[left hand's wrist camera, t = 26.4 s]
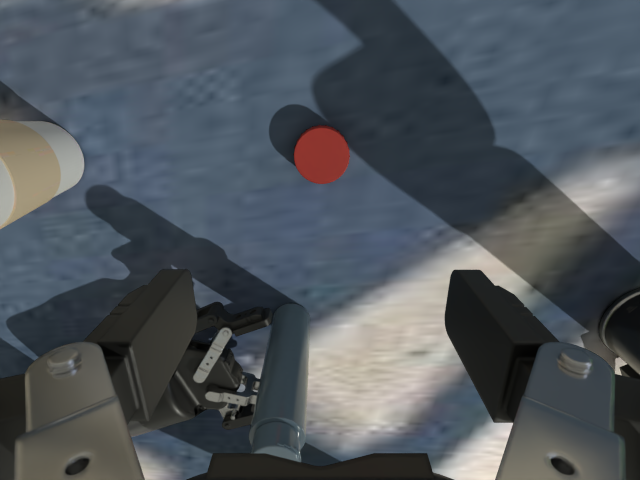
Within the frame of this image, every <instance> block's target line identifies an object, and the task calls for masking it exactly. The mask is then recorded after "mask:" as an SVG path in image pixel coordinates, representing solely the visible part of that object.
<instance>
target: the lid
mask: <svg viewBox="0 0 640 480" xmlns="http://www.w3.org/2000/svg"><path fill="white" fill-rule="evenodd" d="M347 144H348V143H347V141H345V139H344V136H343V135H341V134H340V133H339V131H338V130H335V129H334V128H333V127H329V126H327V125H325V126H320V125H319V126H315V127H313V126H312V128H310V129H306V131H305V132H304V133H303V134H301V137H300V138H299V139H298V140H297V144H296V145H295V148H294V149H295V151H294V162H295V165H296V168H297V169H298V171H299V172H300V174H301V175H302V176H303V177H304V178H306V179H307V180H309V181H311V182H314V183H318V184H326V183H330V182H333V181H335V180H336V179H338V178H339V177H340V176H341V175H342V174H343V173H344V172H345V170H346V168H347V166H348V164H349V157H350V155H349V148H348V146H347Z"/></svg>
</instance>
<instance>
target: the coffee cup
mask: <svg viewBox="0 0 640 480" xmlns="http://www.w3.org/2000/svg"><path fill="white" fill-rule="evenodd" d="M83 171H84V158H83V154H82V151H81V149H80V147H79V145H78V144H77V142H76V141H75V139H74V138H73V137H72V136H71V135H70V134H69V133H68V132H67V131H65V130H64V129H62V128H61V127H59V126H57V125H55V124H52V123H49V122H44V121H11V120H0V229H1V228H3V227H5V226H6V225H8V224H10V223H12V222H13V221H15V220H17V219H19V218H20V217H22V216H24V215H26V214H27V213H29V212H31V211H32V210H34V209H36V208H38V207H39V206H41V205H43V204H45V203H46V202H48V201H49V200H51V199H52V198H53V197H55V196H57V195H58V194H60V193H62V192H64V191H66V190H68V189H69V188H71V187H73V186H74V185H76V184H77V183H78V181H79V180H80V179H81V177H82V174H83Z"/></svg>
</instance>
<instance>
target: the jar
mask: <svg viewBox="0 0 640 480" xmlns="http://www.w3.org/2000/svg"><path fill="white" fill-rule="evenodd" d="M309 340H310V315H309V313H308V311H307V310H306V309H305V308H304V307H302V306H300V305H298V304H292V303H290V304H285V305H282V306H280V307H279V308H278V309H277V310H276V311H275V312H274V315H273V319H272V324H271V329H270V334H269V339H268V344H267V349H266V354H265V359H264V363H263V368H262V373H261V378H260V383H259V388H258V393H257V398H256V403H255V408H254V413H253V417H252V422H251V427H250V432H249V441H250V443H251V445H252V447H251V452H250V453H266V454H270V455H274V456H278V457H282V458H286V459H290V460H294V461H297V462H301V455H300V450H301V449H302V447H303V446H304V444H305V439H306V415H307V390H308V365H309Z"/></svg>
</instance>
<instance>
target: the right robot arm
mask: <svg viewBox="0 0 640 480" xmlns="http://www.w3.org/2000/svg"><path fill="white" fill-rule="evenodd" d="M223 308H224V307H223V304H222V303H220V302H214V303H212V304H209V305H207V306H205V307H202V308H200V309H198V310H196V311H197V325H196V330H195V333H197V332H200V331H202V330H205V329H207V328H209V327H212V326H215V327H216V328H217V329H218V330H217V331H216V333H215V335H214V336H213V338H212V340H211V341H210V343H205V342H200V341H196V340H191V341H190V343H189V345H188V347H187V349H186V351H185V353H184V355H183V356H182V358H181V360H180V362H179V364H178V366H177V368H176V370H175V372H174V374H173V376H172V378H171V379H170V381H169V383H168V385H167V387H166V389H165V391H164V393H163V395H162V397H161V399H160V401H159V403H158V404H157V406H156V408H155V410H154V412H153V414H152V416H151V418H150V420H149V421H130V422H129V424H128V425H127V426H128V429H129V432H130V435H131V437H132V436H137V435H140V434H144V433H147V432H150V431H153V430H157V429H160V428H163V427H167V426H170V425H173V424H176V423H180V422H183V421H186V420H189V419H192V418H194V417H195V416H197V415H198V414H200V413H201V412H203V411H204V410H207V409H216V410H218V409H219V411H220V413H221V415H222V416H223V418H224V419H223V423H222V427H223V428H224V429H227V430H229V429H234V428H238V427H242V426H246V425H250V424H251V422H252V417H253V413H254V408H255V403H256V398H257V392H254V391H253V390H258V388H259V383H260V379H257V378H256V377H255V375H253V374H250V373H246V372H243V369H242V368H241V366H240V365H239V364H238V363H237V362H236V361H235V359H234V355H233V352H232V351H231V349H227V348H225V345H226V344H227V342H228V340H229V339H230V337H231V336H232V334H235V336H239V335H242V334H245V333H248V332H251V331H254V330H257V329H260V328H263V327H266V326H268V325H270V324H271V321H272V317H273V314H272V312H271V310H270V308H266V309H263V307H255V308H252V309H249V310H247V311H244V312H241V313H238V314H229V313H228V312H226V311H225V310H224V309H223ZM195 333H194V334H195ZM240 383H241V384H244V385H245V391H244V392H237V390H238V388H239V386H240Z"/></svg>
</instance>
